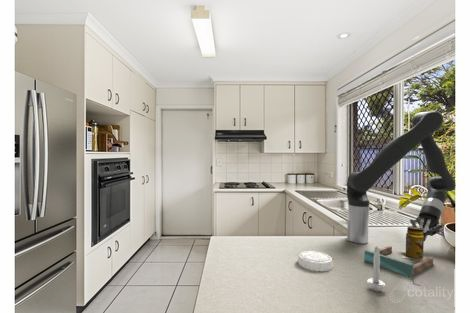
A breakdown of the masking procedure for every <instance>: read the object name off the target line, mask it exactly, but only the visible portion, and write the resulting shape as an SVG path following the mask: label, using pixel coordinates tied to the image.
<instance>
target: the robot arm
mask: <svg viewBox="0 0 470 313" xmlns="http://www.w3.org/2000/svg"><path fill="white" fill-rule="evenodd" d="M443 122H444V117H443V114H442V113H440V112H438V111H435V110H433V111H422V112H418V113H416V114H415V115H413V117H412V120H411V124H412V128H411V129H409V130H408V131H406V132H404V133H402V134H401V135H398V136H397V137H395V138H393V139H392V140H390V141H389V142H388V143H386V145H384V146H383V147H382V148H381V149H380V151H379V152H378V153H377V154H376V156H375V158H374V159H373V161H371V163H370V164H369V165H368V166H367V167H365V168H364V169H363V170H361V171H354V172H351V173H350V174H349V175H348V177H347V180H346V196H347V197H346V198H347V201H348V202H347V207H348V208H347V230H346V231H347V232H346V241H347V242H352V243H354V244H355V243H356V244H367V243H369V229H370V228H369V222H370V219H369V218H370V200H369V198H368V195H367V192H368V191H370V189H372V187H374V185H375V184H376V183H377V182H378V180H379V179H380V178H381V177H382V176H383V175H385V174H386V173H387V172H388V171H389V170H391V168H393V167H394V166H395V165H396V164H397V163H398V162H400V161H401V160H402V159H404V158H405V157H406V156H407V155H408V154H409V153H410V152H411V151H412V150H414V149H415V147H417V146H418V145H419V144H420V145H421V148H422V151H423V154H424V156H425V161H426V165H427V170H428V172H429V173H431V174H434V175H439V176H432V177H430V178H428V179H427V181H426V182H427V183H426V184H427V195H426V197H425V200H424V201H423V202H422V206H421V208H420V211H419V213H418V215H417V217H416V218H415V219H409V222H410V224H411V226H412V227H418V226H417V224H418V225H419V228H422V229H423V236H424V242H426V239H427V237H428V236H431V237H434V235H437V234H440V233H441V232H443V231H444V227H443V225H442V224H440V220H441V215H442V213H443V209H444V205H445V201H446V198H447V195H446V193H445V192H452V191H454V190H455V188H456V182H455V179H454V178H453V176H452V175H451V173H450V171H449V169H448V167H447V165H446V160H445V156H444V153H443V152H442V150H441V148H440V147H439V145H438V144H437V143H436V141H435V139H434V138H433V135H432V134H433V133H435V132H436V131H437V130H439V128H441V127H442V124H443Z"/></svg>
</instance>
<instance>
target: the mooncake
mask: <svg viewBox="0 0 470 313" xmlns="http://www.w3.org/2000/svg"><path fill="white" fill-rule="evenodd" d="M297 259H298V264H299V266H301V267H302V268H304V269H306V270H308V271H309V270H310V271H314V272H327V271H330V270H331V269H333V258H332V257H331V255H329V254H327V253H324V252H322V251H316V250H307V251H306V250H305V251H301V252H300V253H299V254H298V258H297Z"/></svg>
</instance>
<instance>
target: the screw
mask: <svg viewBox="0 0 470 313" xmlns="http://www.w3.org/2000/svg"><path fill="white" fill-rule="evenodd" d="M379 249H381V248H380V247H379V246H374V250H373V251H374V255H373V256H374V257H373V258H374V259H373V260H374V261H373V262H374V263H373V264H372V266H373V267H372V270H373V271H372V277H371V278H368V279H367V280H366V283H367V284H369V285H370V290H372V291H374V292H381V289H382V288H386V284H385V282H384V281H383V280H381V279H380V276H381V273H380V272H381V271H380V270H381V267H380V265H379V264H380V263H379V262H380V257H379V256H380V255H379Z"/></svg>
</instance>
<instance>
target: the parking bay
mask: <svg viewBox="0 0 470 313" xmlns="http://www.w3.org/2000/svg"><path fill="white" fill-rule="evenodd" d="M374 251H375V250H373V251H371V250H367V249H366V250H364V258H363V260H364V261H363V262H366V263H367V264H368V263H369V264H371V265H374V264H373V263H374V262H373V261H374V260H373V259H374V258H373V257H374V256H373V255H374ZM392 252H393V246H392V245H386V246H384V247H381V248H380V249H379V255H380V256H379V257H380V262H379V263H380V264H379V265H380V266H381V267H380V266H379V267H380V268H383V267H384V268H383V269H386V270H389V271H393V272H395V273H398V274H401V275H404V276H407V277H410V278H412V277H414V276H415V275H418V274H419V273H421V272H423V271H424V270H426V269H428V268H430V267H431V266H432V265H434V257H433V256H428V257H426V258H424V260H419V262H417V263H415V264H413V263H410V262H407V261H403V260H400V259H397V258H395V257H394V258H393V257H391V256H388V254H391V253H392Z"/></svg>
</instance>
